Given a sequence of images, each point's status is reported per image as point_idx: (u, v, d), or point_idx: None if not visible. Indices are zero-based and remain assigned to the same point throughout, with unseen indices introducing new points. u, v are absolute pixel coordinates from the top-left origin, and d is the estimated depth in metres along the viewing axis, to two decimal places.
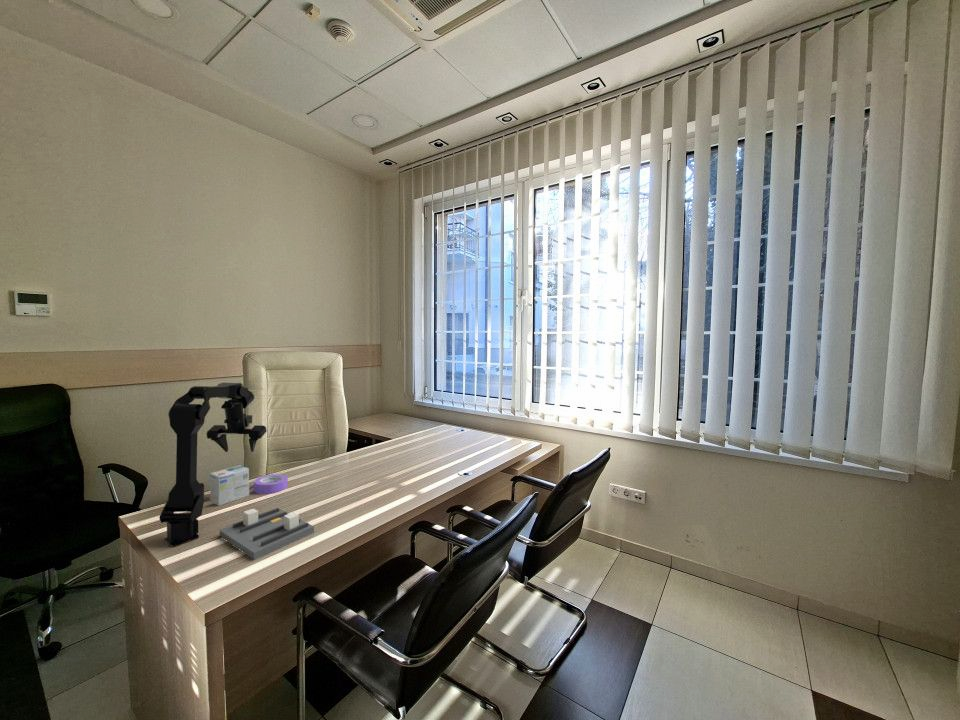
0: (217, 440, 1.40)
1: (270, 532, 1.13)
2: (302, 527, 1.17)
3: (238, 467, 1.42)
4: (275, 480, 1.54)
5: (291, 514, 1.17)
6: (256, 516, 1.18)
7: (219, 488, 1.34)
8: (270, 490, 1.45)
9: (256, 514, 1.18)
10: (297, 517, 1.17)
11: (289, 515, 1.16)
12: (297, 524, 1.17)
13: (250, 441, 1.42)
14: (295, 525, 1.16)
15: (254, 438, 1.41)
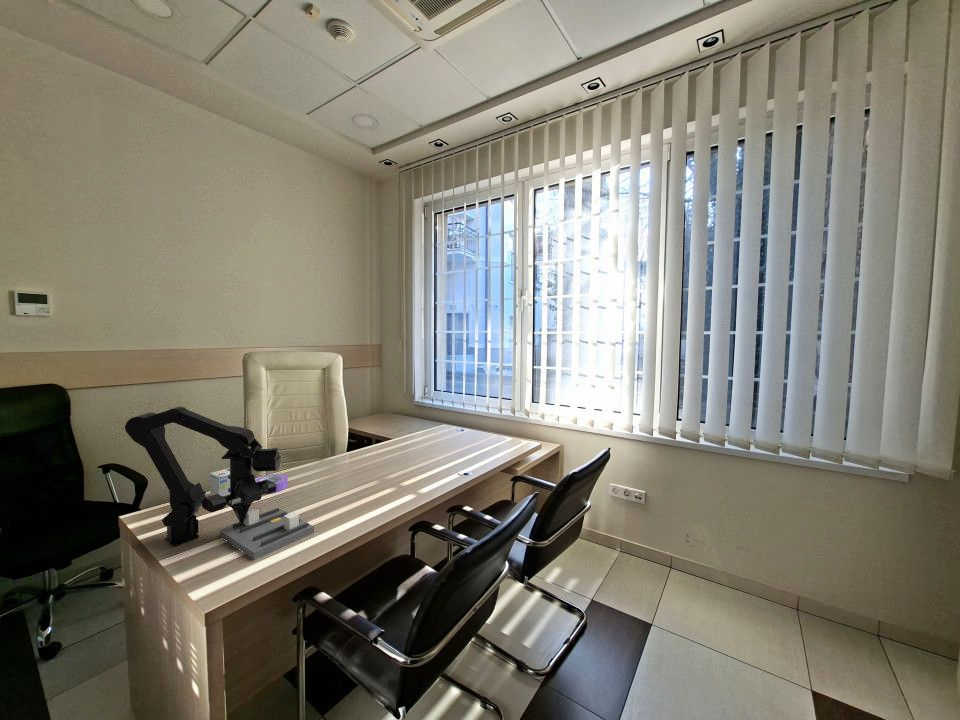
0: None
1: (270, 532, 1.13)
2: (302, 527, 1.17)
3: None
4: (275, 480, 1.54)
5: (291, 514, 1.17)
6: (257, 516, 1.18)
7: (219, 488, 1.34)
8: None
9: (257, 514, 1.18)
10: (297, 517, 1.17)
11: (289, 515, 1.16)
12: (297, 524, 1.17)
13: None
14: (295, 525, 1.16)
15: None
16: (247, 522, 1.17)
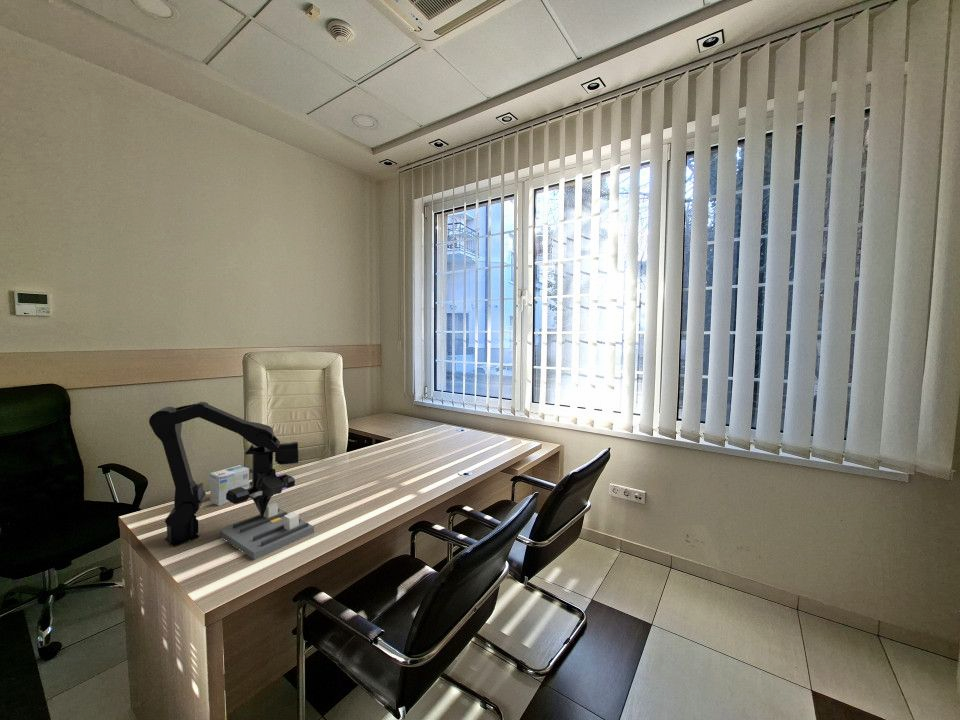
0: None
1: (270, 532, 1.13)
2: (302, 527, 1.17)
3: (238, 467, 1.42)
4: None
5: (291, 514, 1.17)
6: (276, 509, 1.23)
7: (219, 488, 1.34)
8: None
9: (276, 507, 1.23)
10: (297, 517, 1.17)
11: (289, 515, 1.16)
12: (297, 524, 1.17)
13: None
14: (295, 525, 1.16)
15: None
16: (267, 515, 1.22)
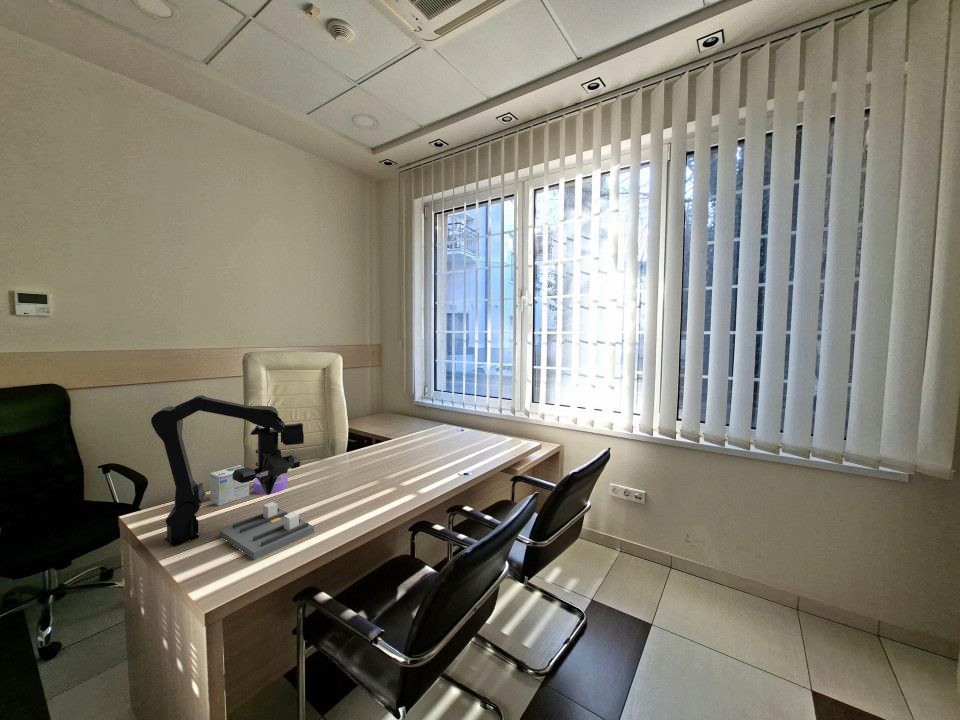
0: None
1: (270, 532, 1.13)
2: (302, 527, 1.17)
3: (238, 467, 1.42)
4: None
5: (291, 514, 1.17)
6: (275, 509, 1.23)
7: (219, 488, 1.34)
8: None
9: (275, 507, 1.23)
10: (297, 517, 1.17)
11: (289, 515, 1.16)
12: (297, 524, 1.17)
13: None
14: (295, 525, 1.16)
15: None
16: (266, 515, 1.22)
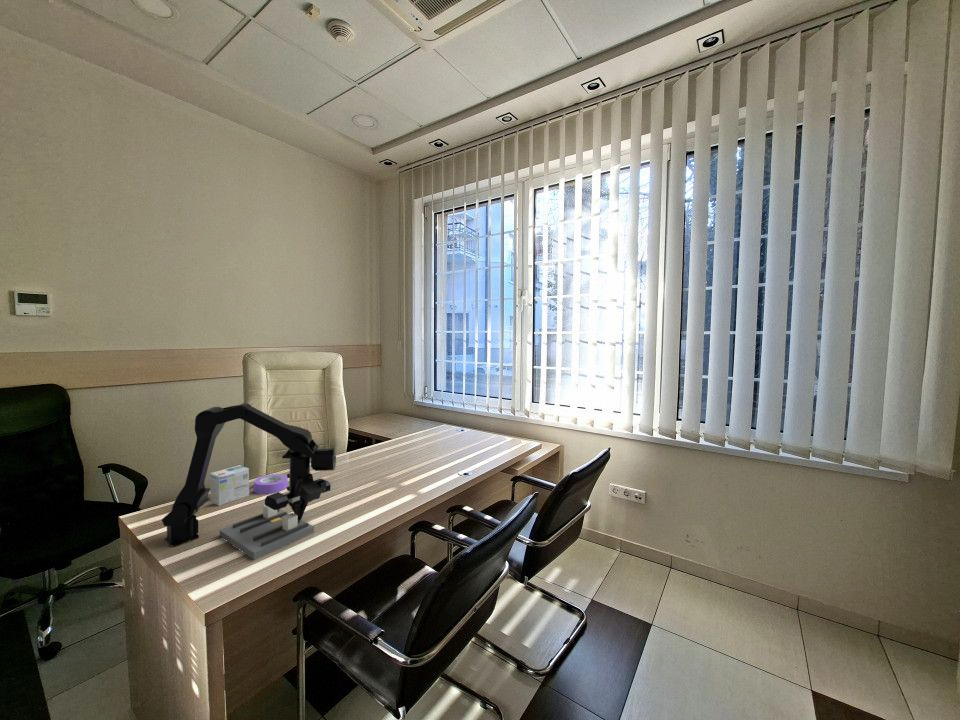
0: None
1: (270, 532, 1.13)
2: (302, 527, 1.17)
3: (238, 467, 1.42)
4: (275, 480, 1.54)
5: (290, 515, 1.17)
6: None
7: (219, 488, 1.34)
8: (270, 490, 1.45)
9: None
10: (296, 518, 1.16)
11: (288, 516, 1.16)
12: (296, 525, 1.16)
13: None
14: (294, 526, 1.16)
15: None
16: (266, 515, 1.22)
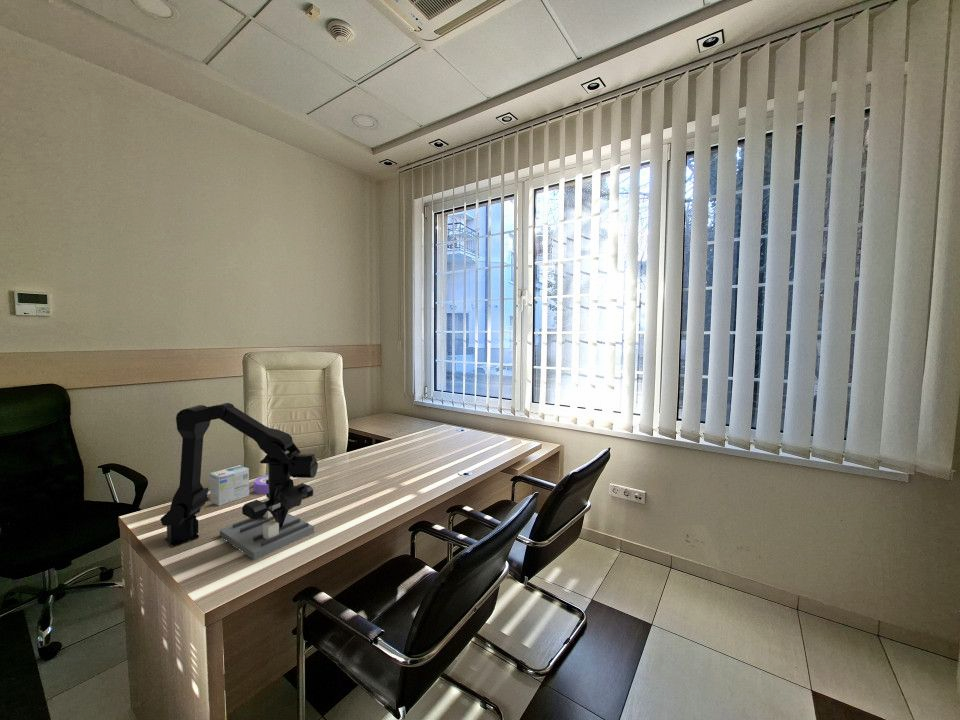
0: None
1: None
2: (302, 527, 1.17)
3: (238, 467, 1.42)
4: None
5: (271, 522, 1.12)
6: None
7: (219, 488, 1.34)
8: None
9: None
10: (277, 525, 1.11)
11: (268, 524, 1.11)
12: (277, 533, 1.11)
13: None
14: (275, 534, 1.11)
15: None
16: (266, 515, 1.22)
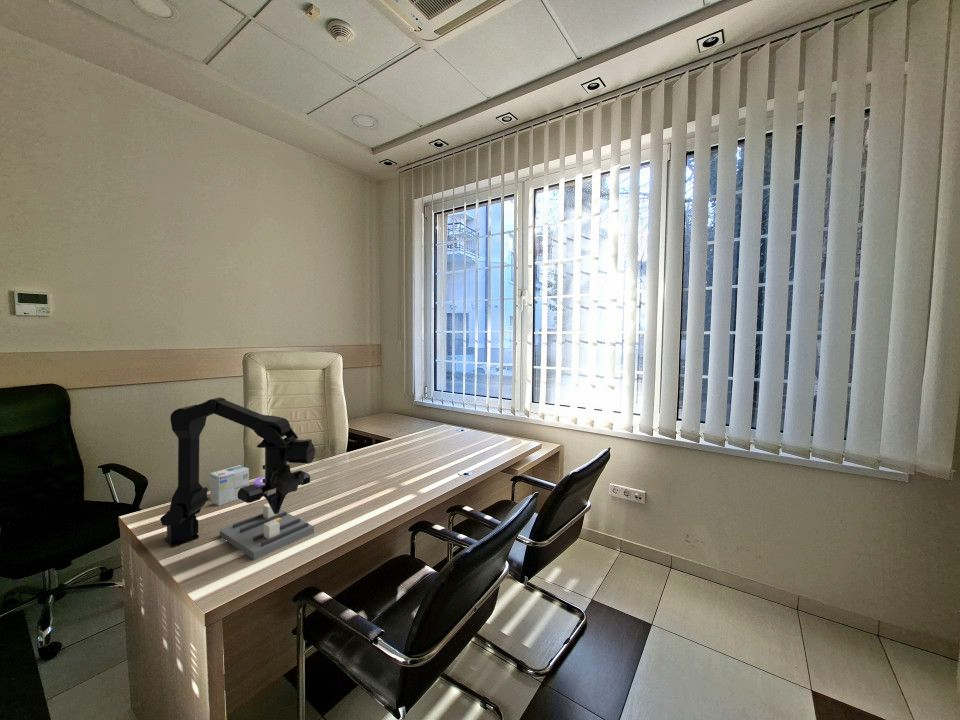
0: None
1: None
2: (302, 527, 1.17)
3: (238, 467, 1.42)
4: None
5: (271, 522, 1.12)
6: None
7: (219, 488, 1.34)
8: None
9: None
10: (278, 525, 1.12)
11: (269, 523, 1.11)
12: (278, 532, 1.12)
13: None
14: (275, 533, 1.11)
15: None
16: (266, 515, 1.22)
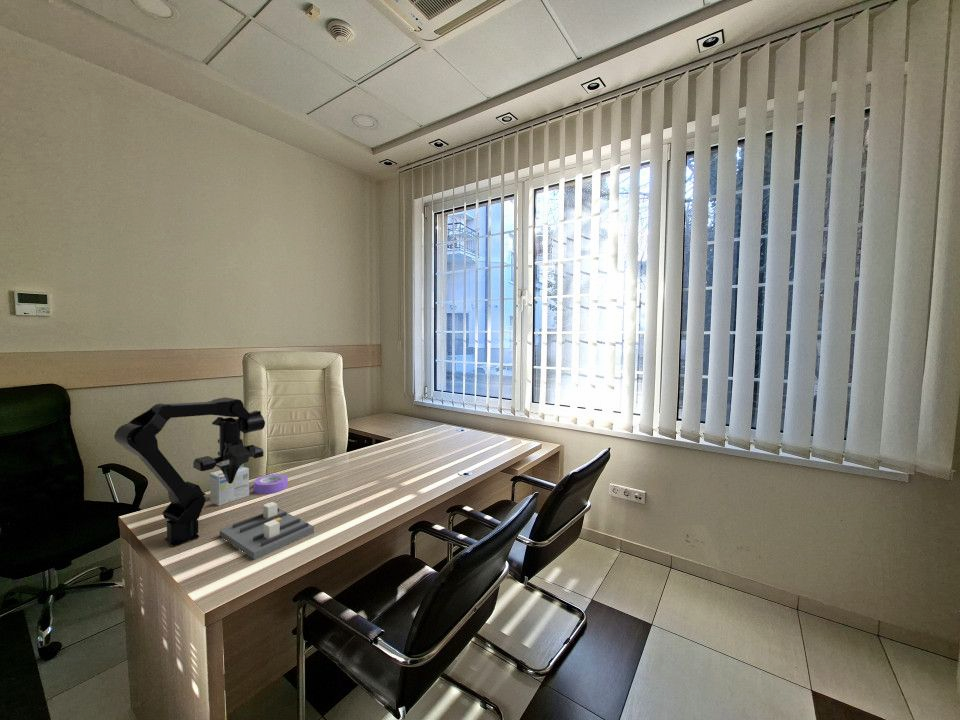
0: None
1: None
2: (302, 527, 1.17)
3: None
4: (275, 480, 1.54)
5: (271, 522, 1.12)
6: (275, 509, 1.23)
7: (219, 488, 1.34)
8: (270, 490, 1.45)
9: (275, 507, 1.23)
10: (278, 525, 1.12)
11: (269, 523, 1.11)
12: (278, 532, 1.12)
13: None
14: (275, 533, 1.11)
15: None
16: (266, 515, 1.22)
